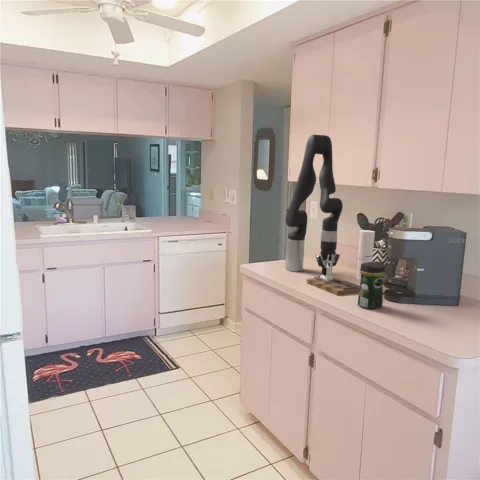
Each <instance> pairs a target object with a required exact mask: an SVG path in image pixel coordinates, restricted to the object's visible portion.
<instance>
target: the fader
mask: <svg viewBox="0 0 480 480" xmlns="http://www.w3.org/2000/svg"><path fill="white" fill-rule="evenodd" d="M326 268H327V270H326V276H324V275H322V274H321V275H319V276H320V278H322V279H324V280H327V281H331V280H333V278H332V277H331V276H332V273H333V267H328V265H327V267H326Z"/></svg>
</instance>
